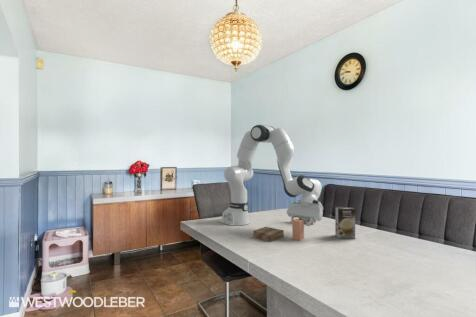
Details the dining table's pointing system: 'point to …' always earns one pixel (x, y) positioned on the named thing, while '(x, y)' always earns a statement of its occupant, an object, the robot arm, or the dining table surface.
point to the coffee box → (345, 222)
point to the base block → (268, 234)
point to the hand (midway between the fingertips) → (299, 224)
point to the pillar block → (298, 229)
